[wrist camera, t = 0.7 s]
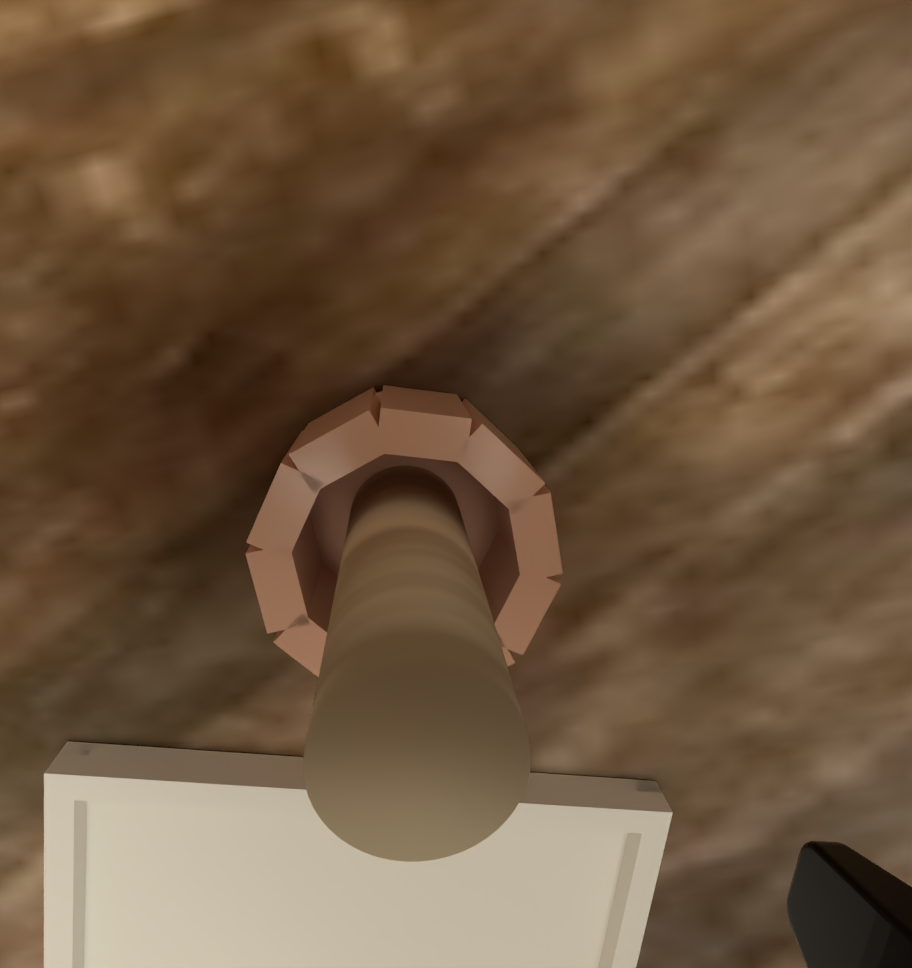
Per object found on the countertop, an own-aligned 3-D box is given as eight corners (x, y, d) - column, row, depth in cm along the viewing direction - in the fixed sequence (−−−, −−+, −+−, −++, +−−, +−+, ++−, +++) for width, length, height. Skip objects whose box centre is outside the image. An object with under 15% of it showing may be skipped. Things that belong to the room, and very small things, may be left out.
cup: (513, 638, 22) (538, 711, 18) (264, 616, 21) (235, 688, 17) (551, 405, 20) (588, 432, 17) (283, 372, 20) (256, 393, 16)
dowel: (452, 574, 21) (512, 866, 10) (345, 564, 21) (293, 855, 10) (466, 471, 20) (548, 672, 10) (356, 459, 20) (313, 652, 9)
